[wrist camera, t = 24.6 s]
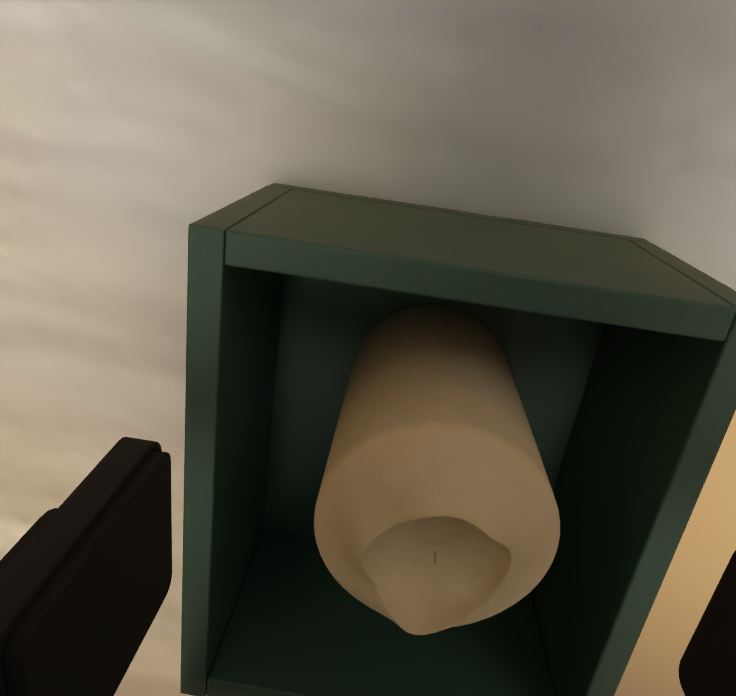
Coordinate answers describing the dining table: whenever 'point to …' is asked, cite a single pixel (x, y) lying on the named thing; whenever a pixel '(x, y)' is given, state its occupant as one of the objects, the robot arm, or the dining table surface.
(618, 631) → the chest
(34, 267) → the dining table surface
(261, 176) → the dining table surface
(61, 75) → the dining table surface
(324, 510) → the candle
